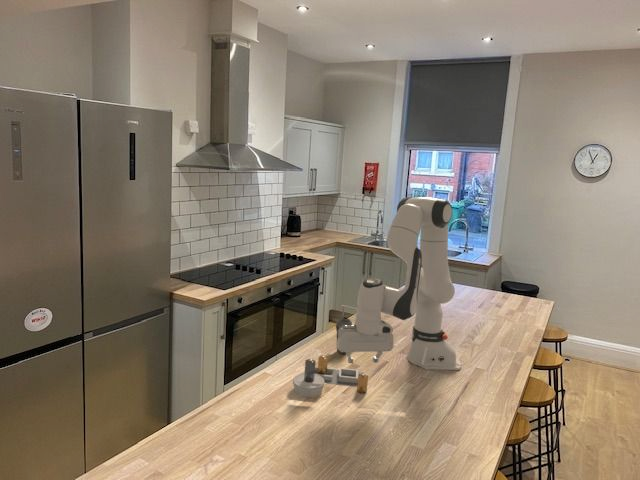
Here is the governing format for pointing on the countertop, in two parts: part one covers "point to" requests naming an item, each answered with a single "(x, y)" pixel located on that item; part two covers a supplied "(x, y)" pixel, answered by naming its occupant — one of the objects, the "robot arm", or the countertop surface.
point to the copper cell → (362, 383)
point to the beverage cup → (339, 324)
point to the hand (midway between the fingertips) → (362, 362)
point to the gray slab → (340, 376)
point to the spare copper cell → (322, 365)
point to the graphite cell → (309, 370)
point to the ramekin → (308, 386)
